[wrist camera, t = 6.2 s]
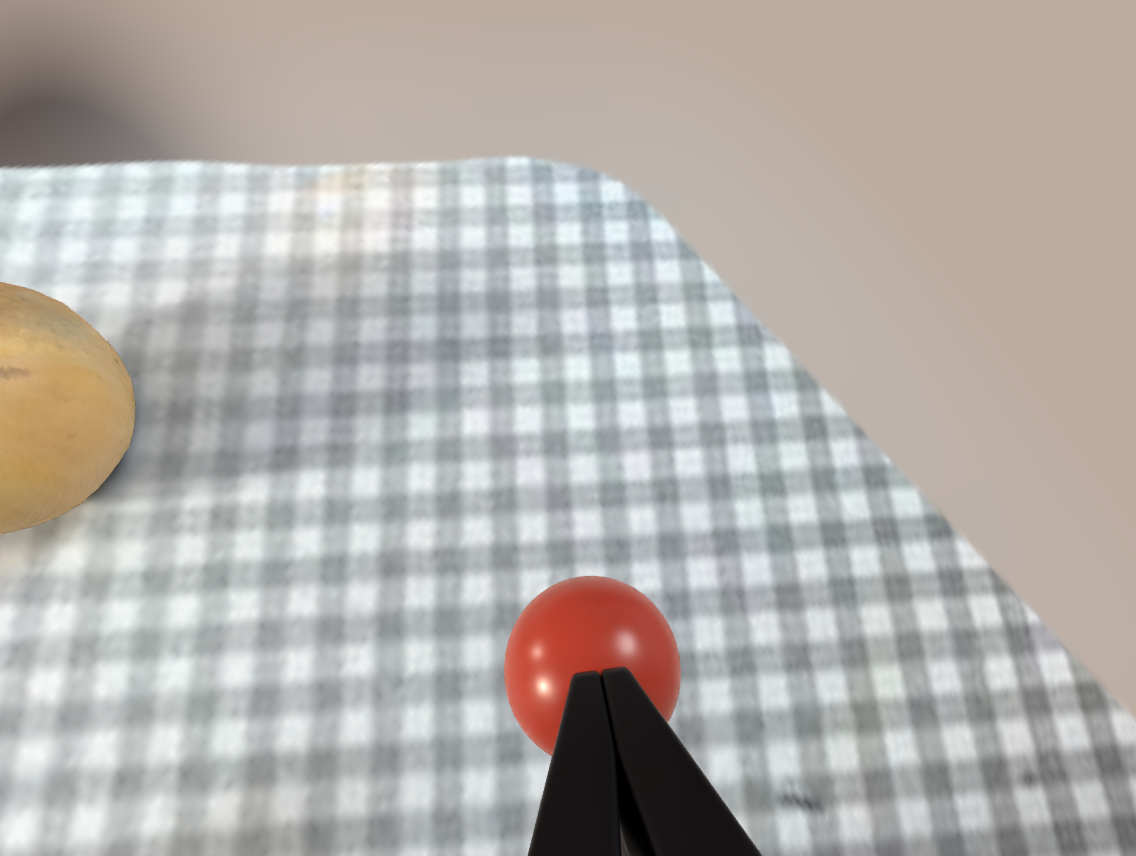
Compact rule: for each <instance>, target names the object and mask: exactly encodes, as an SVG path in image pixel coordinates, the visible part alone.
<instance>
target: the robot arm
mask: <svg viewBox="0 0 1136 856" xmlns="http://www.w3.org/2000/svg"><path fill="white" fill-rule="evenodd" d="M620 828H621V833H622V837H623V841H624V846H625V850H626V853H627V856H762V855H761V853H760V852H759V850H758V849H757V848H756V846H755V845H754V843H753V842H752V841H751V839H750V838H749V836H748V835H747V834H746V832H745V831H744V829H743V828H742V827H741V825H740V824H739V822H738V821H737V820H736V818H735V817H734V815H733V814H732V813H731V811H730V810H729V808H728V807H727V806H726V804H725V803H724V801H723V800H722V799H721V797H720V796H719V794H718V793H717V792H716V790H715V789H714V787H713V786H712V785H711V783H710V782H709V780H708V779H707V778H706V776H705V775H704V773H703V772H702V771H701V769H700V768H699V766H698V765H697V764H696V762H695V761H694V759H693V758H692V757H691V755H690V754H689V752H688V751H687V750H686V748H685V747H684V745H683V744H682V743H681V741H680V740H679V738H678V737H677V736H676V734H675V733H674V731H673V730H672V728H671V727H670V726H669V724H668V723H667V721H666V720H665V719H664V717H663V716H662V714H661V713H660V712H659V710H658V709H657V707H656V706H655V705H654V703H653V702H652V700H651V699H650V698H649V696H648V695H647V693H646V692H645V691H644V689H643V688H642V686H641V685H640V684H639V682H638V681H637V679H636V678H635V677H634V675H633V674H632V672H631V671H630V670H629V669H628V668H627V667H624V666H622V667H614V668H607V669H603V670H602V671H601V673H599V672H598V671H596V670H592V671H585V672H578V673H575V674H573V676H572V678H571V681H570V686H569V690H568V694H567V698H566V702H565V706H564V710H563V714H562V718H561V722H560V726H559V730H558V734H557V738H556V742H555V747H554V751H553V755H552V759H551V763H550V767H549V771H548V775H547V779H546V783H545V787H544V791H543V795H542V799H541V803H540V808H539V812H538V816H537V820H536V824H535V828H534V832H533V836H532V840H531V844H530V848H529V852H528V856H621V836H620Z"/></svg>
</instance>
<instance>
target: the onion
mask: <svg viewBox="0 0 1136 856" xmlns="http://www.w3.org/2000/svg"><path fill="white" fill-rule="evenodd" d="M135 405H136V404H135V400H134V391H133V386H132V381H131V377H130V376H129V374H128V372H127V370H126V368H125V366H124V364H123V362H122V360H121V359H120V357H119V355H118V354H117V352H116V351H115V350H114V349H113V347H112V346H111V345H110V344H109V343H108V342H107V341H106V340H105V339H104V338H103V337H102V336H101V335H100V334H99V332H97V331H96V330H95V329H94V328H93V327H92V326H91V325H90V324H88V323H87V322H86V321H85V320H84V319H83V318H82V317H81V316H80V315H78V314H76V313H75V312H74V311H73V310H71V309H70V308H69V307H68V306H66V305H65V304H64V303H62V302H60V301H57V300H55V299H53V298H51V297H49V296H46V295H44V294H42V293H39V292H37V291H34V290H31V289H28V288H25V287H21V286H16V285H12V284H7V283H3V282H0V534H4V533H8V532H13V531H17V530H21V529H25V528H29V527H32V526H35V525H38V524H41V523H44V522H46V521H49V520H52V519H54V518H56V517H58V516H60V515H62V514H64V513H66V512H67V511H69V510H71V509H73V508H75V507H76V506H78V505H80V504H81V503H83V502H84V500H86V499H87V498H88V497H89V496H90V495H91V494H93V493H94V492H95V491H96V490H97V489H98V488H99V487H100V486H101V485H102V484H103V482H104V481H105V480H106V478H107V477H108V476H109V475H110V474H111V472H112V471H113V470H114V468H115V467H116V466H117V464H118V463H119V462H120V460H121V458H122V457H123V455H124V453H125V452H126V451H127V449H128V448H129V445H130V442H131V440H132V435H133V431H134V424H135Z"/></svg>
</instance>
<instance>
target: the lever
mask: <svg viewBox="0 0 1136 856" xmlns="http://www.w3.org/2000/svg"><path fill="white" fill-rule="evenodd" d="M622 666H624V667H627V668H628V669H629V670H630V671H631V672H632V674H633V675H634V677H635V678H636V679H637V681H638V682H639V684H640V685H641V686H642V688H643V689H644V691H645V692H646V693H647V695H648V696H649V698H650V699H651V700H652V702H653V703H654V705H655V706H656V707H657V709H658V710H659V712H660V713H661V714H662V716H663V717H664V719H665V720H666V721H667V723H668V722H669V720H670V718H671V716H672V714H673V711H674V709H675V706H676V703H677V699H678V695H679V689H680V682H681V667H680V657H679V653H678V648H677V644H676V641H675V638H674V635H673V633H672V630H671V628H670V626H669V624H668V622H667V621H666V619H665V618H664V616H663V615H662V613H661V612H660V611H659V609H658V608H657V607H656V606H655V605H654V604H653V602H651V601H650V600H649V599H648V598H647V597H646V596H645V595H644V594H642V593H641V592H639V591H638V590H636V589H635V588H633V587H631V586H629V585H627V584H625V583H623V582H620V581H617V580H615V579H611V578H606V577H599V576H581V577H576V578H571V579H567V580H564V581H562V582H559V583H557V584H555V585H553V586H551V587H549V588H548V589H546V590H545V591H543V592H542V593H540V594H539V595H538V596H537V597H536V598H535V599H533V600H532V601H531V602H530V604H529V605H528V606H527V607H526V608H525V609H524V611H523V612H522V614H521V615H520V617H519V618H518V620H517V622H516V624H515V626H514V628H513V630H512V632H511V635H510V638H509V641H508V645H507V649H506V654H505V664H504V679H505V686H506V692H507V696H508V700H509V703H510V706H511V708H512V711H513V713H514V716H515V717H516V719H517V721H518V723H519V724H520V726H521V728H522V729H523V730H524V732H525V733H526V734H527V736H528V737H529V738H530V739H531V740H532V741H533V742H534V743H535V744H536V745H537V746H538V747H540V748H541V749H542V750H544V751H545V752H546V753H548V754H549V755H551V756H552V755H553V751H554V747H555V742H556V738H557V734H558V730H559V726H560V722H561V718H562V714H563V710H564V706H565V702H566V698H567V694H568V690H569V686H570V681H571V678H572V676H573V674H575V673H578V672H585V671H592V670H596V671H598V672H599V673H601V671H602V670H603V669H607V668H614V667H622ZM620 836H621V856H627V853H626V850H625V846H624V841H623V837H622V833H621V828H620Z"/></svg>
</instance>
